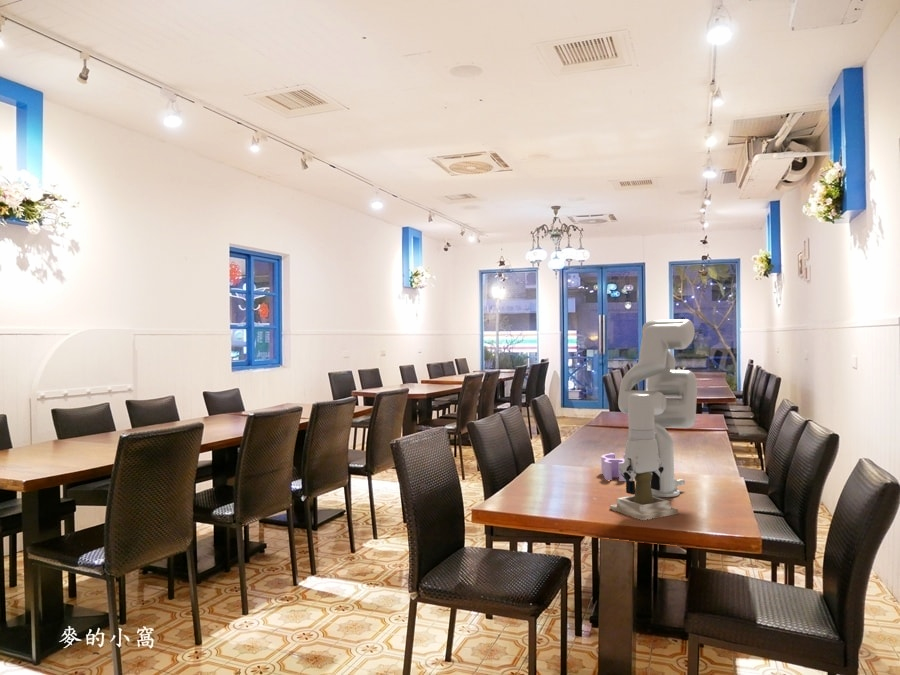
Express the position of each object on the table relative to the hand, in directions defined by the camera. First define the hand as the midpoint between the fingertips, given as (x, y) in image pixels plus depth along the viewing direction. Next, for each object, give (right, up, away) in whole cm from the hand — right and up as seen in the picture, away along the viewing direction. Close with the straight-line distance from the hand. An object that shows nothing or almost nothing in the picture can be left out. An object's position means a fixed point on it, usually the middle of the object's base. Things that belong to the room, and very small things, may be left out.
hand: (643, 491), depth 192 cm
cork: (0, -5, 0) cm, 5 cm away
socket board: (0, -6, 0) cm, 6 cm away
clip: (+5, -6, +49) cm, 50 cm away
